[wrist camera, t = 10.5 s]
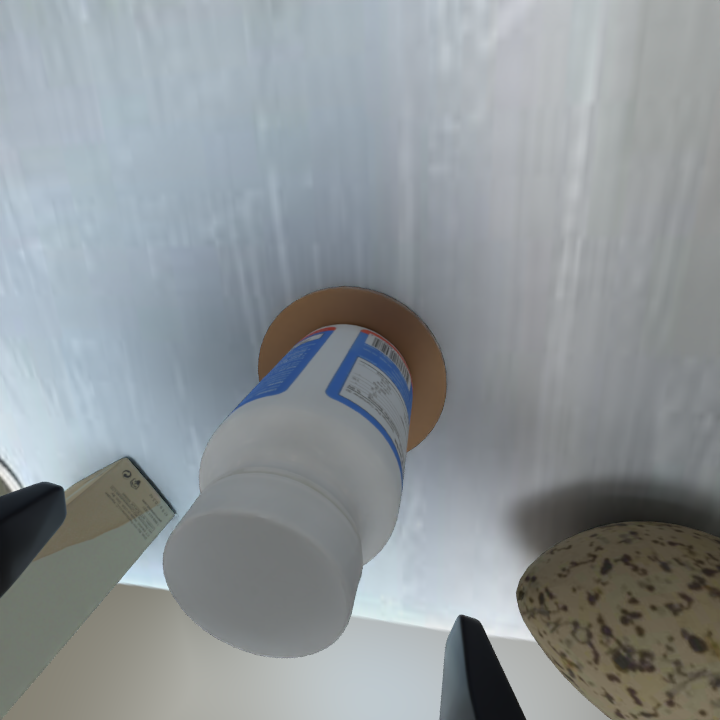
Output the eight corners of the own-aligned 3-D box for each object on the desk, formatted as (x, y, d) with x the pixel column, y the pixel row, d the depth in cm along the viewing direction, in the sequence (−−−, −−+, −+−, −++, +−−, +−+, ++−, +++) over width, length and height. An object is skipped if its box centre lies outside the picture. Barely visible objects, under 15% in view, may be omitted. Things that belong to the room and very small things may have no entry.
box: (128, 453, 21) (-152, 684, 11) (179, 514, 22) (-38, 776, 12) (69, 485, 23) (-219, 709, 13) (118, 540, 24) (-115, 788, 14)
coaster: (473, 315, 15) (473, 318, 15) (417, 480, 19) (417, 485, 18) (272, 264, 16) (268, 266, 16) (252, 431, 19) (249, 435, 19)
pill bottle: (289, 431, 18) (145, 651, 10) (284, 316, 16) (95, 459, 8) (411, 447, 18) (377, 706, 9) (422, 327, 15) (392, 505, 7)
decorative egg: (1036, 816, 9) (590, 703, 10) (779, 808, 14) (491, 733, 15) (829, 517, 14) (546, 455, 15) (694, 587, 19) (484, 538, 20)
